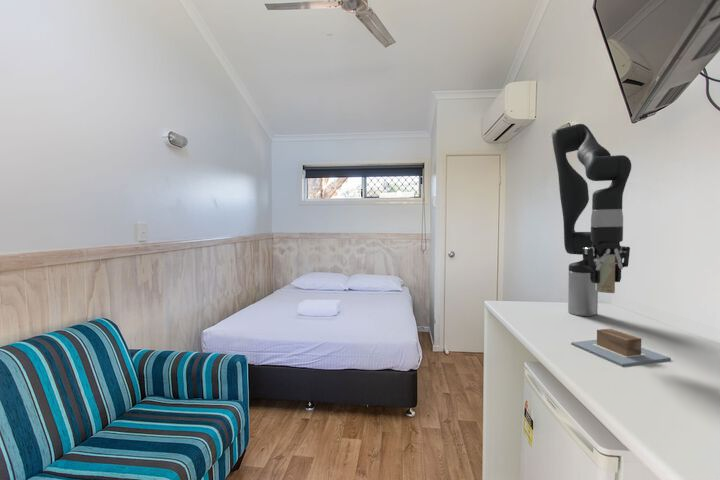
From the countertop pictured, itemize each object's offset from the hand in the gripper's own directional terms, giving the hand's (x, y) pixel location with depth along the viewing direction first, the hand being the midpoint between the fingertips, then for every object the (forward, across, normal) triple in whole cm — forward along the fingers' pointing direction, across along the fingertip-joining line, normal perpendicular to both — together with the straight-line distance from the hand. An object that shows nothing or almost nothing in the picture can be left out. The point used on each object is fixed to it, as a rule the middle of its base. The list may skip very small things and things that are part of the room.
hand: (605, 282), depth 96 cm
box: (+3, 0, 0) cm, 3 cm away
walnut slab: (+19, -2, +2) cm, 20 cm away
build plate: (+20, -2, +2) cm, 20 cm away
